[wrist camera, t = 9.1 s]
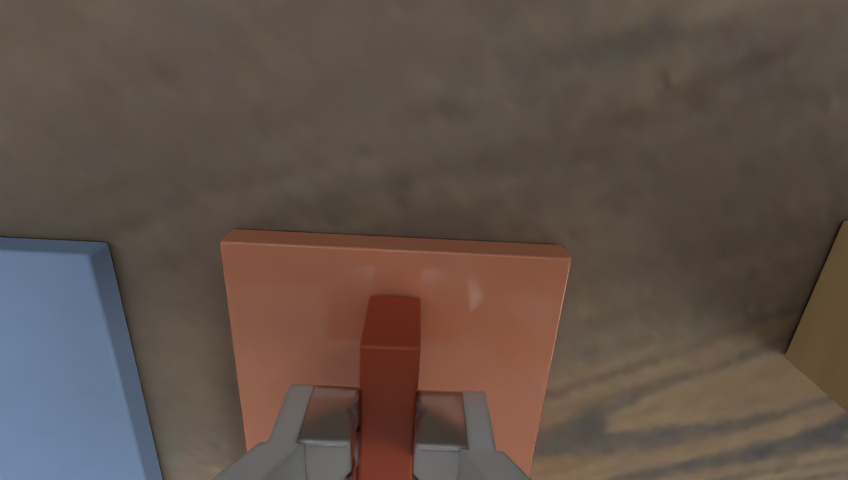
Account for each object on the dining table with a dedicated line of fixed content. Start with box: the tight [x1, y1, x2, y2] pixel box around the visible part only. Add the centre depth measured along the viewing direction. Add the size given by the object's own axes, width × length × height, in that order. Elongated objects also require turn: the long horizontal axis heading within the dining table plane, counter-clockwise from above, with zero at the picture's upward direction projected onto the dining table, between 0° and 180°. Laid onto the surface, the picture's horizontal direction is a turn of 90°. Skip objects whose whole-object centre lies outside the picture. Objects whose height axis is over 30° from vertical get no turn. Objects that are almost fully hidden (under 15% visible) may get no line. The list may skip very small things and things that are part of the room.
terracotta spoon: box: [356, 296, 421, 480], centre depth 12 cm, size 9×4×2 cm, turn 177°
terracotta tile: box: [220, 229, 572, 477], centre depth 13 cm, size 8×10×1 cm
